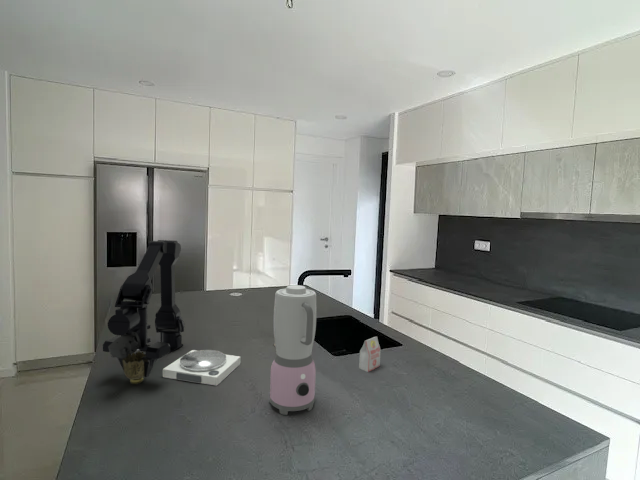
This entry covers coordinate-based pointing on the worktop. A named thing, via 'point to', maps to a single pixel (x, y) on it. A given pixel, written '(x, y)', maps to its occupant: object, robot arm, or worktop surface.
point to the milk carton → (370, 355)
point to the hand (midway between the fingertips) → (136, 375)
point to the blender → (293, 350)
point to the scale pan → (203, 360)
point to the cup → (134, 367)
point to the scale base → (202, 376)
